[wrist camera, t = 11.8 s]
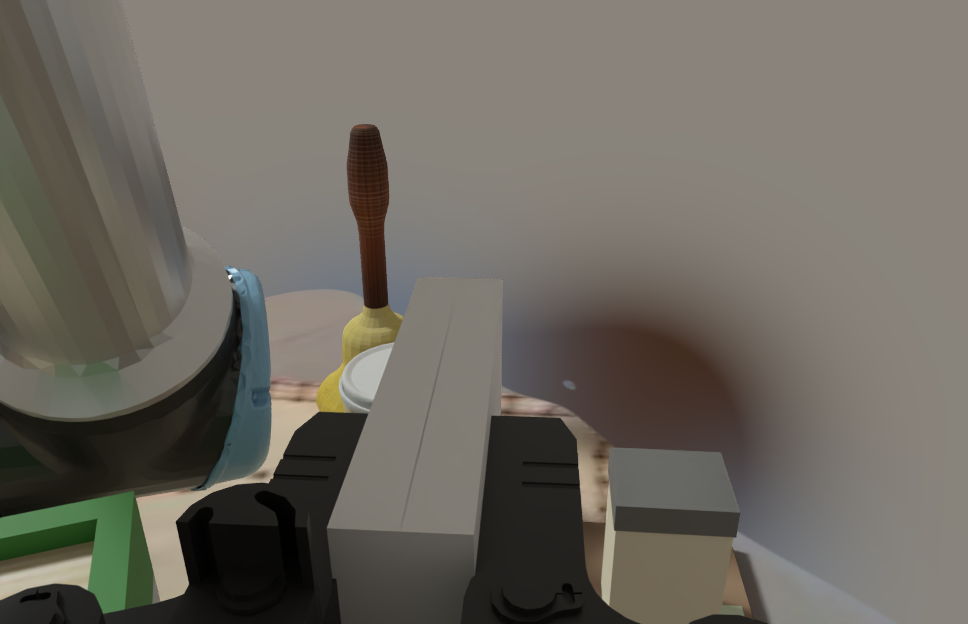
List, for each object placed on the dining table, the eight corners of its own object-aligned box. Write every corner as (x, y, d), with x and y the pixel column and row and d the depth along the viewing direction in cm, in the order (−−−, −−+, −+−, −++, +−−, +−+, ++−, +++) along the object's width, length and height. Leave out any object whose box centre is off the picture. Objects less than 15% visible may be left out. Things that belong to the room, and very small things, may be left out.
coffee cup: (497, 490, 60) (497, 353, 55) (441, 570, 52) (436, 419, 47) (392, 461, 63) (383, 329, 58) (325, 532, 56) (309, 387, 50)
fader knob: (715, 655, 43) (740, 512, 39) (603, 648, 44) (616, 505, 39) (700, 586, 48) (720, 452, 44) (599, 580, 48) (610, 447, 44)
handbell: (471, 404, 71) (468, 131, 61) (345, 444, 66) (318, 150, 55) (411, 351, 81) (400, 107, 70) (297, 382, 75) (266, 121, 65)
